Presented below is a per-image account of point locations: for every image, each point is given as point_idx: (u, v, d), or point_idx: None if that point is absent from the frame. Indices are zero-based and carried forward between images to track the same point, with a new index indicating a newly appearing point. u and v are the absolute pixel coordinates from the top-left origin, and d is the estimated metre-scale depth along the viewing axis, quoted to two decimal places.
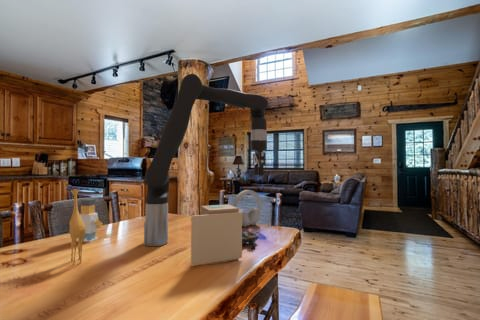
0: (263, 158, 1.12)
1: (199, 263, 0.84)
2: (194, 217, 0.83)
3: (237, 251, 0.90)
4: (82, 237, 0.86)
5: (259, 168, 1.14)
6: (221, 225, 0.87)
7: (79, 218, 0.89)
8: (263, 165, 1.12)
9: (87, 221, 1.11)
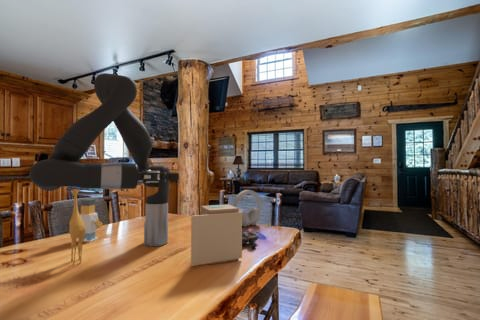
0: None
1: (199, 263, 0.84)
2: (194, 217, 0.83)
3: (237, 251, 0.90)
4: (82, 237, 0.86)
5: None
6: (221, 225, 0.87)
7: (79, 218, 0.89)
8: None
9: (87, 221, 1.11)
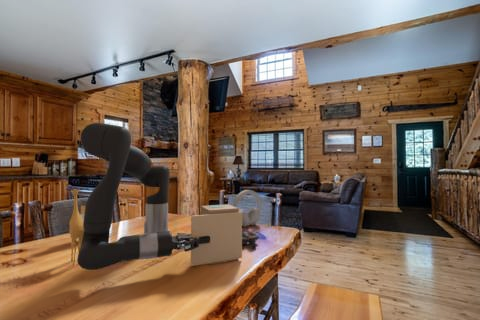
0: None
1: (199, 263, 0.84)
2: (194, 217, 0.83)
3: (237, 251, 0.90)
4: (82, 237, 0.86)
5: None
6: (221, 225, 0.87)
7: (79, 218, 0.89)
8: None
9: None
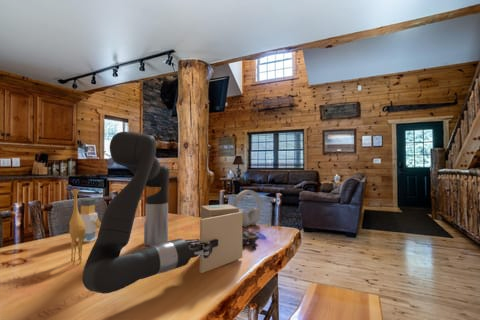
0: None
1: (208, 269, 0.79)
2: (204, 220, 0.78)
3: (238, 251, 0.89)
4: (82, 237, 0.86)
5: None
6: (226, 226, 0.85)
7: (79, 218, 0.89)
8: None
9: (87, 221, 1.11)
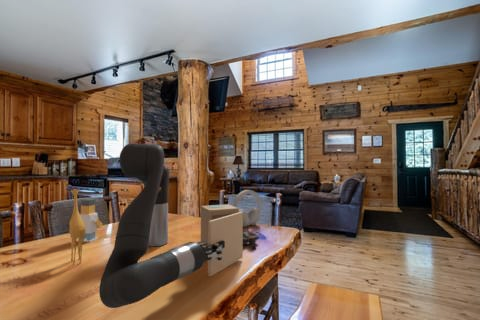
0: None
1: (216, 271, 0.78)
2: (212, 222, 0.76)
3: (239, 252, 0.89)
4: (82, 237, 0.86)
5: None
6: (230, 227, 0.84)
7: (79, 218, 0.89)
8: None
9: (87, 221, 1.11)
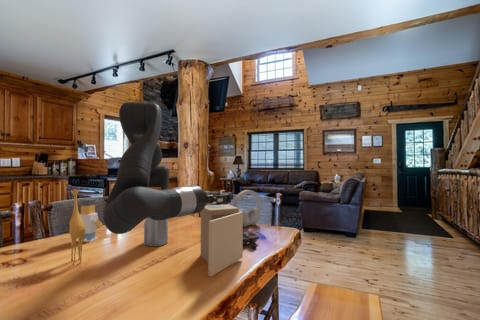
0: None
1: (216, 271, 0.77)
2: (213, 222, 0.76)
3: (239, 252, 0.89)
4: (82, 237, 0.86)
5: None
6: (230, 227, 0.84)
7: (79, 218, 0.89)
8: None
9: (87, 221, 1.11)
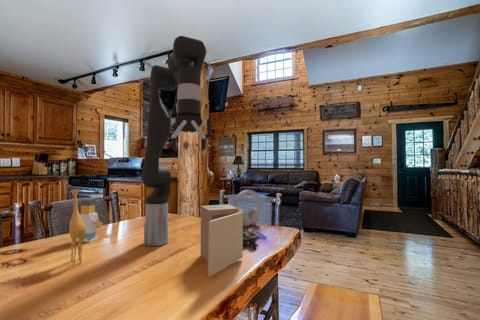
0: (166, 126, 0.80)
1: (216, 271, 0.77)
2: (213, 222, 0.76)
3: (239, 252, 0.89)
4: (82, 237, 0.86)
5: None
6: (230, 227, 0.84)
7: (79, 218, 0.89)
8: (167, 136, 0.80)
9: (87, 221, 1.11)
